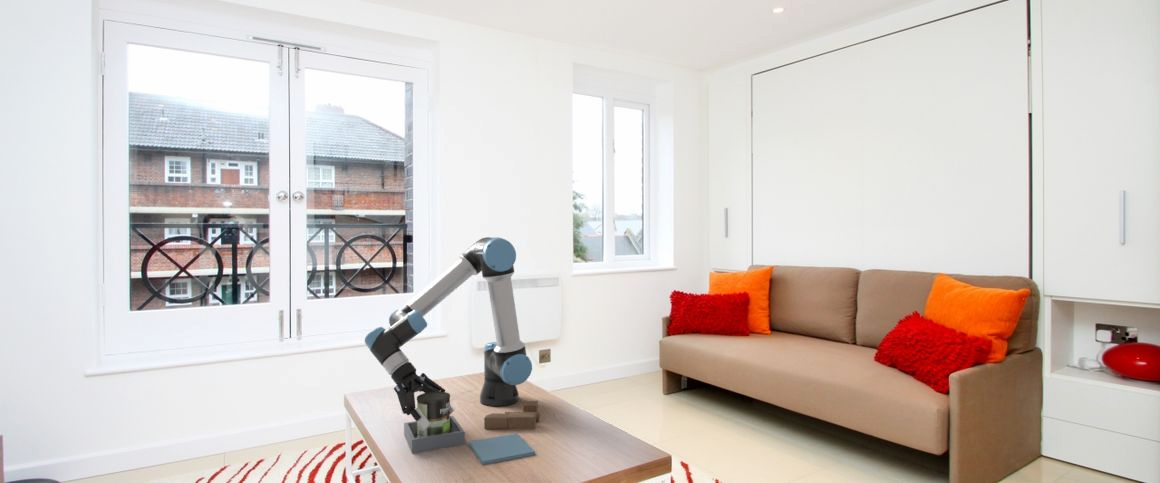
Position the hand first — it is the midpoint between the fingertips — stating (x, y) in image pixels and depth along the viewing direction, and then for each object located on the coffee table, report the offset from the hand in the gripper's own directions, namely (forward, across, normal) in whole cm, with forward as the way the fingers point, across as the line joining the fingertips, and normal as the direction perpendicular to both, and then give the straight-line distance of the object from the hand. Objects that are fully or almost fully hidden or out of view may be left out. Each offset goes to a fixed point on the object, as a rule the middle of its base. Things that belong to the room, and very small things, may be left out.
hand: (439, 419), depth 173 cm
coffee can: (+3, 0, -6) cm, 7 cm away
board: (+20, 0, +11) cm, 23 cm away
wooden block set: (+15, -24, +5) cm, 29 cm away
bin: (+3, 0, -6) cm, 7 cm away
